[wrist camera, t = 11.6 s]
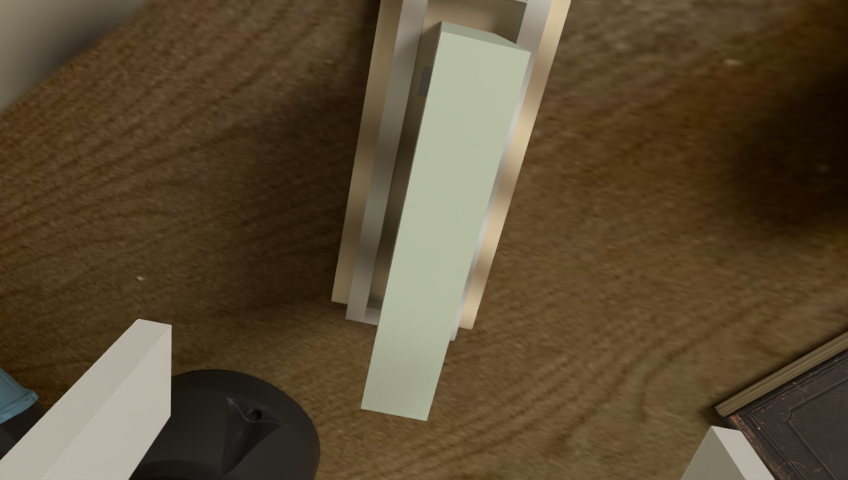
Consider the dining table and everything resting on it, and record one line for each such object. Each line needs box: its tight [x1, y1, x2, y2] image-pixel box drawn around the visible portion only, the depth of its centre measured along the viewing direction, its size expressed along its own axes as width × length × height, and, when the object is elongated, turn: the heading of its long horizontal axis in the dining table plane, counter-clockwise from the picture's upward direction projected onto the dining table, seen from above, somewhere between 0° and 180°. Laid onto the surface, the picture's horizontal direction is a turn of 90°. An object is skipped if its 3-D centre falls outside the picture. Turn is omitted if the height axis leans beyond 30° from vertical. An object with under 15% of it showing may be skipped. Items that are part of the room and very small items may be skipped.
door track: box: [331, 0, 571, 340], centre depth 32 cm, size 22×10×3 cm, turn 168°
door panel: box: [361, 21, 531, 421], centre depth 26 cm, size 16×3×13 cm, turn 168°
